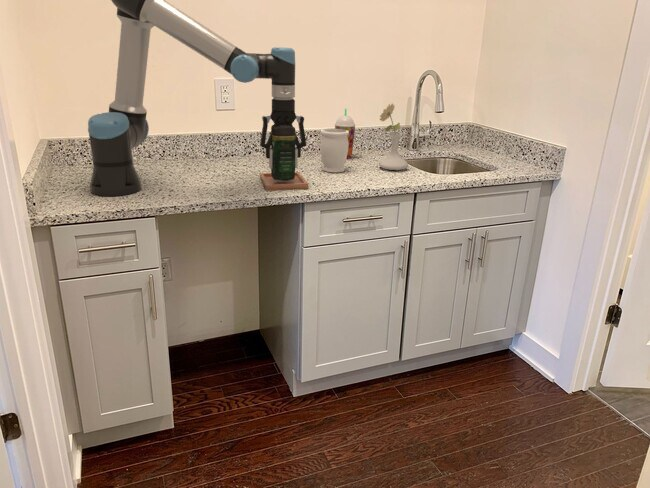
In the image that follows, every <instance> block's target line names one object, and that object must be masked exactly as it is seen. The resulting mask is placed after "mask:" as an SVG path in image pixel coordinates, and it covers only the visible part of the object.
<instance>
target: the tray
mask: <svg viewBox="0 0 650 488" xmlns="http://www.w3.org/2000/svg"><path fill="white" fill-rule="evenodd" d="M259 177H260V181H261V183H262V185H263V186H264V188H265V191H267V192H268V191H272V192H273V191H293V189H294V191H295V189H297V190H309V183H308V181H307V180H306V179H305V178H304V176H303V175H302V174H301V173H300V172H299V171H295V178H294V179H293V180H288V181H282V180H275V179H273V177H272V176H271V172H266V173H264V172H262V173H259Z"/></svg>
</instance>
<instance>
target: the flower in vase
mask: <svg viewBox="0 0 650 488" xmlns="http://www.w3.org/2000/svg"><path fill="white" fill-rule="evenodd" d="M395 106H396V105H395V104H394V103H393V102H392V103H390V104H388V105H387V106H386V108H384V109H383V110H382V111H383V112H382V113H381V114H380V116H379V120H380V122H385V121H386V120H387V119H389V118H390V121H391V124H389V125H387V126H386V127H385V130H384V131H385V132H386V131H387V132H389V131H391V129H393V131H391V132H389V133H388V134H389V136H390V138H391V139H390V140H391V150H390V152H389V153H388V154H387V155H386V156H385V157H383V158H382V159H381V160H379V162H378V166H379V167H381V168H383V169H384V170H390V171H401V170H404V169H407V167H409V163H408V162H407V160H406V159H405V158H403V156H401V155H400V154H399V151H398V148H399V141H400V138H401V137H402V135H403V132H400V131H399V132H397V130H400V129H401V125H400V122H398V123H397V124H395V125H394V121H393V119H392V114H393V112H394V110H395Z"/></svg>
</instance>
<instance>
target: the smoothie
mask: <svg viewBox="0 0 650 488" xmlns="http://www.w3.org/2000/svg"><path fill="white" fill-rule="evenodd" d="M334 129H343V130H347V131H349V134H348V135H347V137H348V154H347V159H346V160H349V159H351V157H352V155H353V150H354V148H353V147H354V141H355V139H354V138H355V131H356V130H355V129H356V123H355V122H354V120H353V118H352V117H350V116H348V115H347V108H344V115H341V116H340V117H338V119H337V120H336V123H335V124H334Z"/></svg>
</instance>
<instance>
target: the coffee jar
mask: <svg viewBox="0 0 650 488" xmlns="http://www.w3.org/2000/svg"><path fill="white" fill-rule="evenodd" d="M273 125H274V124H272V125H271V127H270V133H271V132H272V134H273V135H272V144H271V147H270V148H272V169H271V172H270V173H271V176H272V177H273V179H275V180H282V181H288V180H293V179H294V178H295V172H296V168H295V147H296V144H295V139H296V135H297V134H295V133H296V127H294V126H293V127H292V126H289V125H287V124H280V125H279V126H277V127H275V126H273Z"/></svg>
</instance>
